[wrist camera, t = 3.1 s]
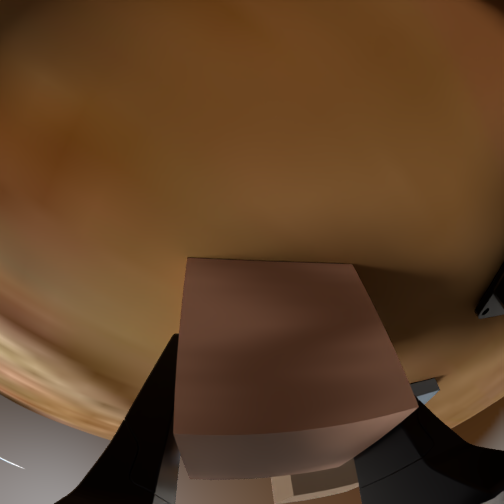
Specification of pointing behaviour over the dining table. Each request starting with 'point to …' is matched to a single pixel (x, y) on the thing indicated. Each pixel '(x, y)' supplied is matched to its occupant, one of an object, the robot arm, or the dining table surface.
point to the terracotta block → (281, 369)
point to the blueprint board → (334, 478)
